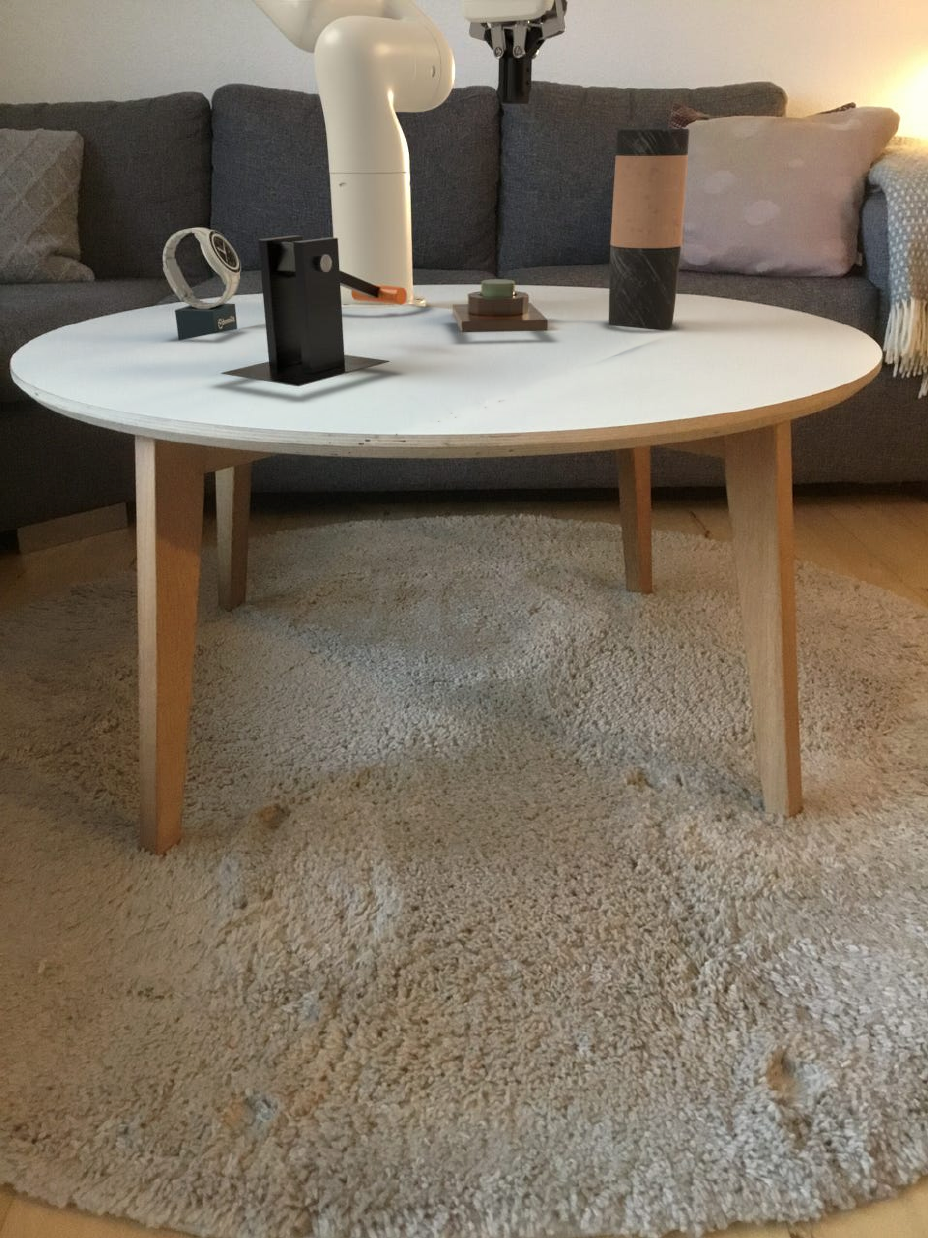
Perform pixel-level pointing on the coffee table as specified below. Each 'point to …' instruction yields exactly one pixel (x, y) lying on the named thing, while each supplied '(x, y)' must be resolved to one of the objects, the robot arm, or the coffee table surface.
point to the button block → (498, 314)
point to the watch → (198, 314)
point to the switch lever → (347, 281)
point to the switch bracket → (303, 315)
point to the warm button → (498, 288)
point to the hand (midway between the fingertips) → (514, 102)
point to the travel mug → (647, 226)
